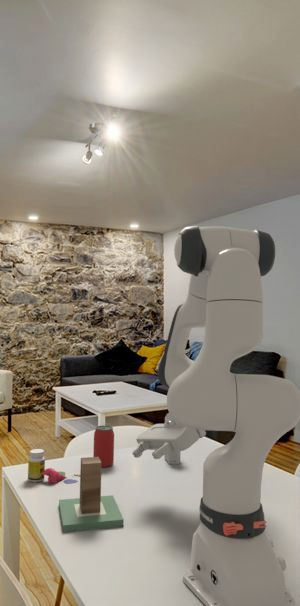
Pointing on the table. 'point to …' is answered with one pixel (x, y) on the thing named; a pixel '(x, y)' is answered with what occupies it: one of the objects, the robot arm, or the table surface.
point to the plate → (89, 515)
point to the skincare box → (173, 457)
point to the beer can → (104, 445)
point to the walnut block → (90, 485)
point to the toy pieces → (58, 476)
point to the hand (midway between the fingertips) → (144, 456)
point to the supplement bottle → (36, 465)
